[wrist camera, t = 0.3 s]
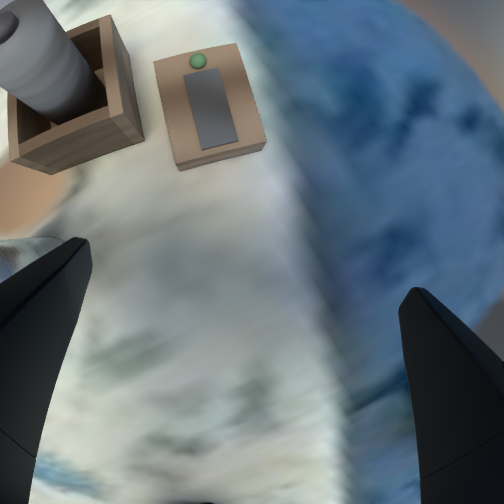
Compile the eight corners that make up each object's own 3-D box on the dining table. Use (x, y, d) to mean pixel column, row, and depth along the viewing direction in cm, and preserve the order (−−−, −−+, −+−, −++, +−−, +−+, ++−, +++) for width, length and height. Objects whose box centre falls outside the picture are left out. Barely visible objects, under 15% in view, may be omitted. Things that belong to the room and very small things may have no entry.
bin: (144, 140, 21) (75, 48, 8) (51, 175, 21) (-68, 136, 7) (128, 55, 21) (79, -58, 7) (43, 89, 20) (-46, 14, 7)
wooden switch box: (261, 150, 22) (269, 137, 19) (179, 171, 22) (174, 161, 18) (233, 59, 22) (237, 36, 18) (158, 76, 21) (151, 55, 18)
